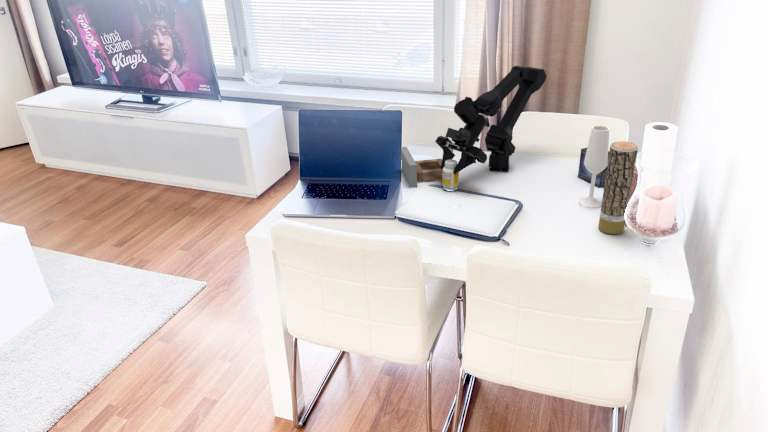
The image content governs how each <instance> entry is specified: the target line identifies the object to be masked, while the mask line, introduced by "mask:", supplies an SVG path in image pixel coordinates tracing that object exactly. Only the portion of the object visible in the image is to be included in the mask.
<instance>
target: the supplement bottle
mask: <svg viewBox="0 0 768 432" xmlns="http://www.w3.org/2000/svg"><path fill="white" fill-rule="evenodd" d="M457 164H458V161H457V160H456V159H452V160H446V161H445V167H444V168H443V173H442V181H441V182H442V183H441V184H442V185H441V187H442V186H445V187H452V188H458V189H459V184H460V183H459V180H460V178H459V177H460V172H458V173H457V174H454V173H453V171H454V169H455V167H456V165H457Z"/></svg>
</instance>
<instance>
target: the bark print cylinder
mask: <svg viewBox="0 0 768 432" xmlns="http://www.w3.org/2000/svg"><path fill="white" fill-rule="evenodd" d="M638 150H639V146H638V145H637V144H636V143H633V142H630V141H625V140H624V141H622V140H621V141H613V142H611V143H610V146H609V150H608V151H609V158H608V165H607V172H606V178H605V185H604V187H603V193H602V198H601V199H602V201H601V203H602V205H601V206H600V213H599V221H598V229H599V230H600V231H601V232H603V233H605V234H609V235H619V234H622V233H623V232H624V230H625V225H626V221H625V220H624V213H625V209H626V207H627V204H628V202H629V203H630V198H631V197H630V196H631V192H632V185H633V180H634V174H635V168H636V162H637V156H638ZM628 205H629V204H628Z"/></svg>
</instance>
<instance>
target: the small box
mask: <svg viewBox="0 0 768 432" xmlns="http://www.w3.org/2000/svg"><path fill="white" fill-rule="evenodd" d="M586 151H587V147H584V148H581V149H580V156H579V164H578V165H579V166H578V174H577V177H578V179H581V180H582V181H585V182H587V183H589V184H591V179H592V173H590V172H589V171H588V170H587V169H586V167H585V165H584V160H585V156H586ZM609 151H610V150H608V158H609ZM606 172H607V167H606V168H605V169H604V170H603V171H601V172H600V173H598V174H596V180H595V187H597V188H598V189H600V188H604V185H605V178H606Z"/></svg>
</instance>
